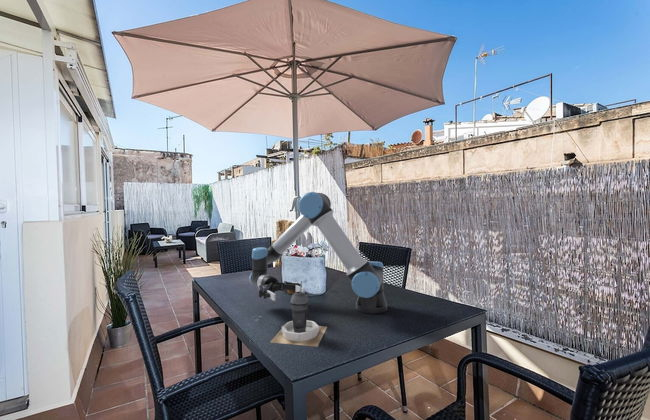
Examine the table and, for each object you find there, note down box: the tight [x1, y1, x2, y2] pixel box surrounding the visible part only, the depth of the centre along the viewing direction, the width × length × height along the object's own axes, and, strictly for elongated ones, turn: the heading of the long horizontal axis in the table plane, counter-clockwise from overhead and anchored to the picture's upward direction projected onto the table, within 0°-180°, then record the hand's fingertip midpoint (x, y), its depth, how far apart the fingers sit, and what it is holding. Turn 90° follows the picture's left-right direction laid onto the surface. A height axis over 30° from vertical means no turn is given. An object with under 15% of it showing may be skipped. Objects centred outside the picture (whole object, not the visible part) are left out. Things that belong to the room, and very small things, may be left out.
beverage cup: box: [289, 280, 310, 333], centre depth 120 cm, size 7×7×20 cm
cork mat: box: [269, 325, 328, 348], centre depth 121 cm, size 18×18×1 cm
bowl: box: [281, 319, 320, 342], centre depth 121 cm, size 14×14×3 cm
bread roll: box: [284, 290, 296, 295], centre depth 180 cm, size 10×10×8 cm
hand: (289, 294), depth 127 cm, fingers open, 13 cm apart
